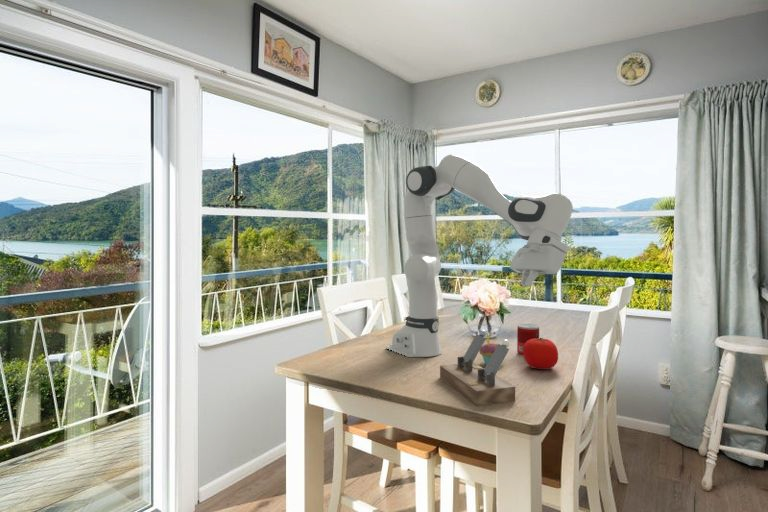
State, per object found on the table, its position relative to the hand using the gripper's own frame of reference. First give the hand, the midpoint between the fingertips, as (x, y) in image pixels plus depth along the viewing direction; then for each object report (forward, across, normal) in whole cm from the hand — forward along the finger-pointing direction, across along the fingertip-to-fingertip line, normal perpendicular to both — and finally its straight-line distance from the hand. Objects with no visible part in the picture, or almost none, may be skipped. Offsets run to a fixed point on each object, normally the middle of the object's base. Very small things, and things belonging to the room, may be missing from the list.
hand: (525, 285), depth 131 cm
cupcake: (+25, -27, +17) cm, 40 cm away
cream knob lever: (+30, +1, 0) cm, 30 cm away
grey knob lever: (+29, -12, -1) cm, 32 cm away
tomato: (+19, -17, +29) cm, 39 cm away
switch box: (+34, -6, +2) cm, 35 cm away
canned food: (+15, -34, +34) cm, 51 cm away
